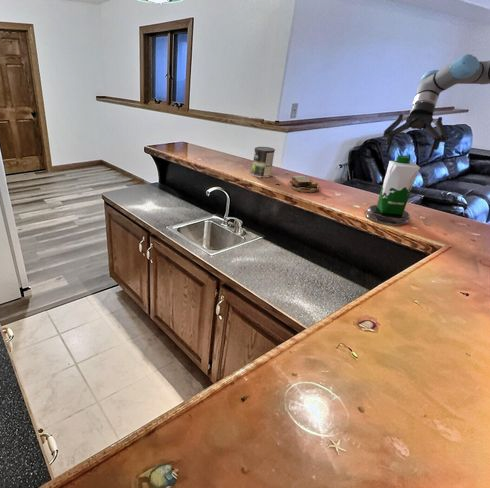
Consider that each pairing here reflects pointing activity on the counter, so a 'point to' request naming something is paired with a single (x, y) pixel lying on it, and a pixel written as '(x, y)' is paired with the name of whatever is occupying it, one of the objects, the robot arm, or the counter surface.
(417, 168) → the soya milk
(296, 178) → the toy sandwich meal
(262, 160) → the coffee can
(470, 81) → the robot arm
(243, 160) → the counter surface
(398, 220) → the stand
